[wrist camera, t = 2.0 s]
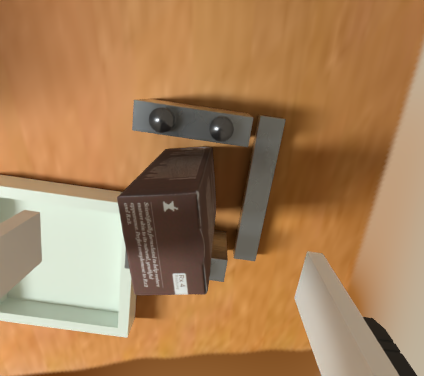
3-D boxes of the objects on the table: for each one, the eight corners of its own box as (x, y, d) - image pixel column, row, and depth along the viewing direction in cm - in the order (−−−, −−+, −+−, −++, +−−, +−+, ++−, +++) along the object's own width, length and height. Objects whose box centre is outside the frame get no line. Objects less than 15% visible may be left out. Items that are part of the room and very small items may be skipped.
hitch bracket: (140, 238, 28) (122, 272, 23) (151, 98, 24) (131, 99, 19) (253, 254, 28) (261, 291, 23) (282, 118, 24) (300, 124, 19)
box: (161, 148, 25) (112, 194, 14) (213, 145, 25) (207, 189, 14) (168, 213, 27) (131, 299, 16) (216, 210, 27) (214, 296, 16)
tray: (2, 300, 31) (-17, 318, 28) (-10, 173, 26) (-34, 181, 24) (134, 318, 31) (127, 337, 29) (143, 195, 27) (136, 205, 24)
